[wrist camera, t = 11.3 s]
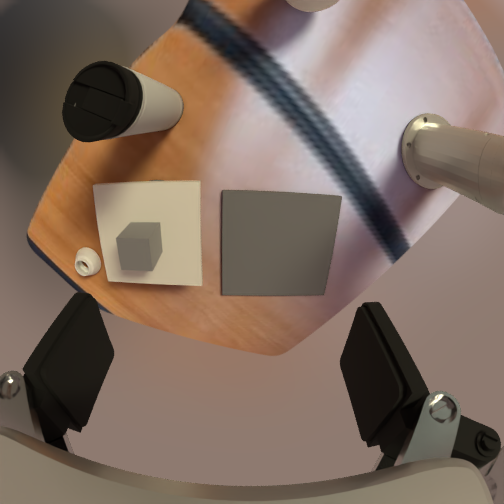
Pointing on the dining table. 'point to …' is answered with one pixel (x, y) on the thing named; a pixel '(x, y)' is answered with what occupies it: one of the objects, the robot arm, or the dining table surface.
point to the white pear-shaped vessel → (311, 4)
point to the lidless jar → (87, 261)
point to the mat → (277, 242)
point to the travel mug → (118, 103)
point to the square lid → (150, 231)
